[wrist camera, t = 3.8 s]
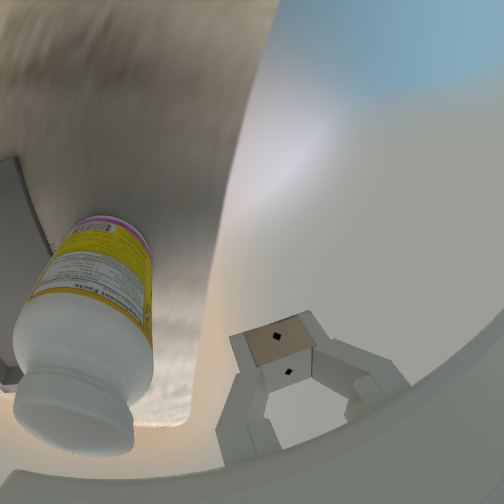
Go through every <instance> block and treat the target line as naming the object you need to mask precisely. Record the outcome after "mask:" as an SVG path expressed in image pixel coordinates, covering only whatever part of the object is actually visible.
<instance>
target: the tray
mask: <svg viewBox="0 0 504 504" xmlns="http://www.w3.org/2000/svg"><path fill="white" fill-rule="evenodd" d="M52 256H53V253H52V251H51V249H50V247H49V245H48V243H47V240H46V238H45V236H44V234H43V231H42V229H41V227H40V224H39V222H38V219H37V217H36V214H35V212H34V209H33V206H32V204H31V201H30V198H29V195H28V192H27V189H26V186H25V183H24V180H23V177H22V174H21V170H20V167H19V163H18V160H17V156H16V157H14V158H11V159H9V160H6V161H4V162H2V163H0V389H1V390H2V391H3V392H4V393H9V392H16V391H17V386H18V383H19V381H20V380H21V379H22V378H23V376H24V373H23V372H22V370H21V368H20V366H19V364H18V362H17V360H16V357H15V353H14V348H13V331H14V327H15V323H16V321H17V319H18V317H19V315H20V313H21V311H22V309H23V307H24V305H25V303H26V301H27V299H28V297H29V296H30V294H31V292H32V290H33V288H34V286H35V285H36V283H37V281H38V279H39V278H40V276H41V274H42V272H43V271H44V269H45V267H46V266H47V264H48V262H49V261H50V259H51V258H52Z"/></svg>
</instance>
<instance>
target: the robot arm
mask: <svg viewBox="0 0 504 504" xmlns="http://www.w3.org/2000/svg"><path fill="white" fill-rule="evenodd" d="M229 339H230V343H231V346H232V349H233V352H234V355H235V358H236V361H237V364H238V367H239V370H240V373H238V374H236V377H235V379H234V382H233V384H232V387H231V390H230V392H229V395H228V398H227V401H226V403H225V406H224V409H223V411H222V414H221V416H220V419H219V421H218V424H217V427H216V429H215V431H216V435H217V439H218V442H219V446H220V450H221V453H222V457H223V461H224V464H225V466H224V467H220V468H215V469H211V470H205V471H200V472H194V473H188V474H181V475H174V476H165V477H156V478H142V479H85V478H72V477H62V476H54V475H47V474H40V473H35V472H30V471H25V470H20V469H16V470H13V471H12V472H11V473H10V474H9V476H8V477H7V479H6V480H5V481H4V483H3V484H2V486H1V487H0V504H504V308H503V309H502V311H501V312H500V313H499V314H498V315H497V316H496V317H495V318H494V319H493V320H492V321H491V322H490V323H489V324H488V325H487V326H486V327H485V328H484V329H483V330H481V332H479V333H478V334H477V335H476V336H475V337H474V338H473V339H472V340H471V341H470V342H469V343H467V344H466V345H465V346H464V347H463V348H461V349H460V350H459V351H458V352H457V353H455V354H454V355H453V356H452V357H450V358H449V359H448V360H447V361H445V362H444V363H443V364H442V365H440V366H439V367H438V368H436V369H435V370H434V371H432V372H431V373H430V374H428V375H427V376H426V377H424V378H423V379H421V380H420V381H418V382H417V383H415V384H414V385H413V386H411V385H410V384H409V383H408V382H407V380H406V379H405V377H404V376H403V375H402V374H401V372H400V371H399V370H398V369H397V367H396V366H395V365H394V364H393V362H392V361H391V360H389V359H386V358H383V357H381V356H378V355H375V354H373V353H370V352H368V351H365V350H362V349H360V348H357V347H354V346H352V345H350V344H347V343H345V342H342V341H340V340H337V339H332V340H331V339H330V338H329V337H328V335H327V334H326V332H325V331H324V329H323V328H322V327H321V325H320V324H319V322H318V321H317V319H316V318H315V317H314V315H313V314H312V312H311V311H309V310H307V311H304V312H302V313H299V314H296V315H293V316H290V317H288V318H285V319H282V320H279V321H276V322H274V323H271V324H269V325H265V326H262V327H259V328H255V329H252V330H249V331H245V332H242V333H239V334H235V335H232V336H229ZM311 377H312V378H313V379H315V380H316V381H318V382H320V383H321V384H323V385H325V386H326V387H328V388H330V389H332V390H333V391H335V392H337V393H339V394H340V395H342V396H344V397H346V398H348V399H349V401H348V404H347V407H346V410H345V413H344V416H345V418H346V420H347V421H348V423H346V424H344V425H342V426H340V427H338V428H336V429H333V430H331V431H329V432H327V433H324V434H322V435H320V436H317V437H315V438H313V439H310V440H308V441H305V442H303V443H300V444H297V445H295V446H292V447H289V448H287V449H284V450H282V448H281V446H280V443H279V441H278V439H277V436H276V434H275V432H274V430H273V427H272V425H271V422H270V420H269V419H266V418H263V416H264V412H265V407H266V403H267V399H268V393H270V392H273V391H276V390H278V389H281V388H284V387H286V386H289V385H291V384H294V383H297V382H300V381H303V380H305V379H308V378H311Z"/></svg>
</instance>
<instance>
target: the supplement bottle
mask: <svg viewBox="0 0 504 504" xmlns="http://www.w3.org/2000/svg"><path fill="white" fill-rule="evenodd" d="M13 348H14V353H15V357H16V360H17V362H18V364H19V366H20V368H21V370H22V372H23V373H24V376H23V378H22V379H21V380H20V381H19V383H18V386H17V391H16V396H15V401H14V406H13V413H14V416H15V418H16V420H17V421H18V423H19V424H20V425H21V426H22V427H23V428H24V429H25V430H26V431H27V432H28V433H30V434H31V435H32V436H34V437H35V438H37V439H39V440H40V441H42V442H44V443H46V444H48V445H50V446H52V447H54V448H57V449H60V450H63V451H66V452H69V453H73V454H77V455H82V456H88V457H96V458H106V457H116V456H121V455H124V454H126V453H128V452H129V451H131V450H132V448H133V446H134V430H133V416H132V413H131V412H130V410H129V406H131V405H133V404H135V403H136V402H137V401H139V400H140V399H141V398H142V397H143V396H144V394H145V393H146V392H147V390H148V388H149V386H150V384H151V381H152V377H153V344H152V257H151V253H150V249H149V247H148V245H147V243H146V241H145V239H144V238H143V236H142V235H141V233H140V232H139V231H138V230H137V229H136V228H134V227H133V226H132V225H130V224H129V223H127V222H125V221H123V220H121V219H119V218H116V217H112V216H93V217H89V218H87V219H84V220H82V221H80V222H79V223H77V224H76V225H75V226H74V227H73V228H72V229H71V230H70V231H69V232H68V234H67V235H66V236H65V238H64V239H63V241H62V242H61V244H60V245H59V247H58V248H57V250H56V251H55V253H54V254H53V256H52V258H51V259H50V261H49V262H48V264H47V266H46V267H45V269H44V271H43V272H42V274H41V276H40V278H39V279H38V281H37V283H36V285H35V286H34V288H33V290H32V292H31V294H30V296H29V297H28V299H27V301H26V303H25V305H24V307H23V309H22V311H21V313H20V315H19V317H18V319H17V321H16V323H15V327H14V331H13Z"/></svg>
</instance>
